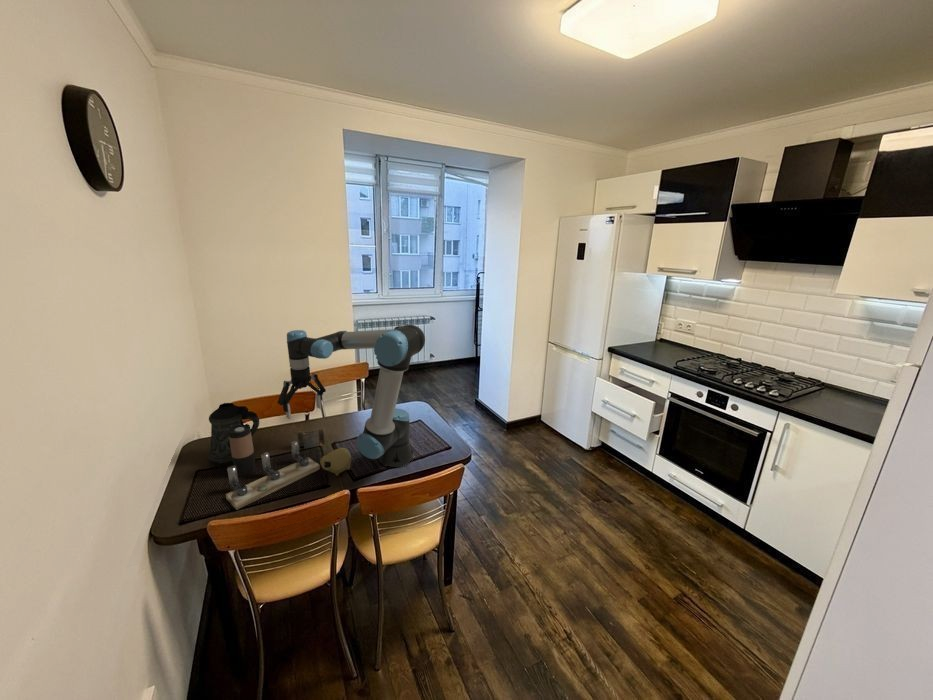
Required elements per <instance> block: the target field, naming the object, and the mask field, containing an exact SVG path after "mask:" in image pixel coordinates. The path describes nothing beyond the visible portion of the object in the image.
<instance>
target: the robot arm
mask: <svg viewBox="0 0 933 700" xmlns="http://www.w3.org/2000/svg"><path fill="white" fill-rule="evenodd" d="M286 344H287V345H286V346H287V353H288V354H287V355H288V363H289V368H290V369H289V372H290V380H288V381H287V380H284V381H283V387H282V389H281V392H280V394H279V397H278V399H277V404H279V406H282V409H283V412H284V413H285V415H286V416H285V417H286V418H287V419H288V420H292V414H291V413H292V411H291V405H290V404H289V403H290V401H291V399H292V398H293V397H294V395H295V394H296V392H298V390H302V389H303V388H307V387H309V388H310V389H312V390H313V391H314V392H316V393H315V402H316V404H315V405H316V408H317V409H319V410H321V409H322V402H323V395H324V393H326V392H327V390H326V388H325V387H324V385H323V383H321V380H320V379H319V376H318V374H316V373H312V374H311V370H310V369H311V368H310V359H309V358H310V357H312V358H315V359H322V360H323V359H324V360H325V359H328V358H330V356H332V354H333V353H334V352H337V351H341V350H365V349H367V350H368V349H373V352H374V355H375V356H376V357H375V358H376V359H375V360H377V364H378V366H379V367H380V368H379V373H378V379H377V384H376V388H375V394H374V399H373V403H372V408H371V413H370V414H371V415H370V417H369V418H367V419H366V421H365V423H364V428H363V430H362V431H363V432H362V433H360V434H359V435H358V436H357V438H356V440H355V443H356V447H357V449H358V451H359V452H360V453H361V454H362V455H363V456H364V457H366V458H367V459H370V460H377V459H379V460H380V461H379V460H378V461H379V463H380V462H381V463H382V464H384V465H387V466H392V467H399V468H401V467H400V466H403V465H405V464H407V463H409V462H410V461H411V460H412V458H413V459H414V451H413V450H414V449H413V447H412V445H411V443H410V422H411V421H410V420H411V419H410V414H409V412H408V411H407V410H405V409H402V408H396V407H397V402H398V397H399V395H400V390H401V384H402V380H403V376H404V372H406V371H408V370H409V368H410V363H411V361H412V357H413V356H415V355H417V354H419V353H420V352H421V351H422V350H423V348H424V347H425V344H426V336H425V333H424V331H423V330H422V329H421V328H420V327H419V326H417V325H415V324H406V325H398V326H394V328H389V329H373V330H354V331H347V330H339V331H337V332H334V333H331V334H327V335H324V336H320V337H316V338H313V337H309V336H308V335H307V332H306V331H305V330H303V329H302V330H301V329H296V330H290V331H288V332H287V333H286ZM311 380H313V382H314V383H315V384H316V386H317V387H318V388H317V387H316V386H315V385H313V384H312V383H311ZM412 461H413V460H412ZM412 461H411V462H412ZM411 462H410V463H411ZM381 463H380V464H381ZM410 463H409V464H410ZM382 464H381V465H382ZM384 465H383V466H384ZM403 467H404V466H403Z"/></svg>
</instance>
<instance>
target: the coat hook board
mask: <svg viewBox="0 0 933 700" xmlns="http://www.w3.org/2000/svg"><path fill="white" fill-rule="evenodd" d="M306 458H308V460H309V464H308V465H307V466H301V465H300V463H299V462H298V461H297V462H294V463H291V464H289V465H287V466H285V467H283V468H281V469H278V470H277V471H279V472H280V478H279V479H277V480H271V476H269V475H268V474H267V475H265V476H263V477H261V478H258V479H256V480H254V481H252V482H249V483H248V484H245V485H244V486H247V491H248V492H247V494H245V495H243V496H238V495H237V491H236V490H235V489H233V490H232V491H230V492H227V493H225V498H226V500H227V501H228V502H229V503H230V505H231V506H232V507H233V508H234V509H235V510H236V511H237V510H240V509H241V508H244V507H245V506H247V505H250V504H251V503H253V502H255V501H258V500H261V499H262V498H263V497H266V496H268V495H269V494H272V493H275V492H276V491H278V490H280V489H282V488H284V487H286V486H288V485H291V484H293V483H294V482H296V481H298V480H301V479H302V478H304V477H306V476H309V475H311V474H313V473H316V472H317V471H319V470H320V468H321V464H319V463H318V462H316V461H315V460H313V459H312V458H311V457H309V456H306Z"/></svg>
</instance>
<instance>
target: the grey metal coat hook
mask: <svg viewBox="0 0 933 700" xmlns="http://www.w3.org/2000/svg"><path fill="white" fill-rule="evenodd" d="M226 468H227V469H226V471H227V476H228V481H229V485H231V487H232V488H233V490H236V491H237V495H238V496H243V495H245V494H247V492H248V491H247V486H245V485H242V484H241V483H240V482H239V476H238V475H237V469H236V466H230V467H226Z"/></svg>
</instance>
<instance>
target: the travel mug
mask: <svg viewBox="0 0 933 700" xmlns="http://www.w3.org/2000/svg"><path fill="white" fill-rule="evenodd" d="M250 429H251V426H250V424H248V423H245V424H244V425H239V424H238V425H234V426H232V427H230V428H229V429H228V434H229V440H230V447H231V453H232V459H233V464H234V466H236V469H237V475H238V478H239V477H243V478H244V477H247V476H250V475H252V474H254V473H255V472H256V469H257V466H256V461H255V460H256V457H255V451H254V450H255V448H254V445H253V438H252V437H253V436H251V430H250Z"/></svg>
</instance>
